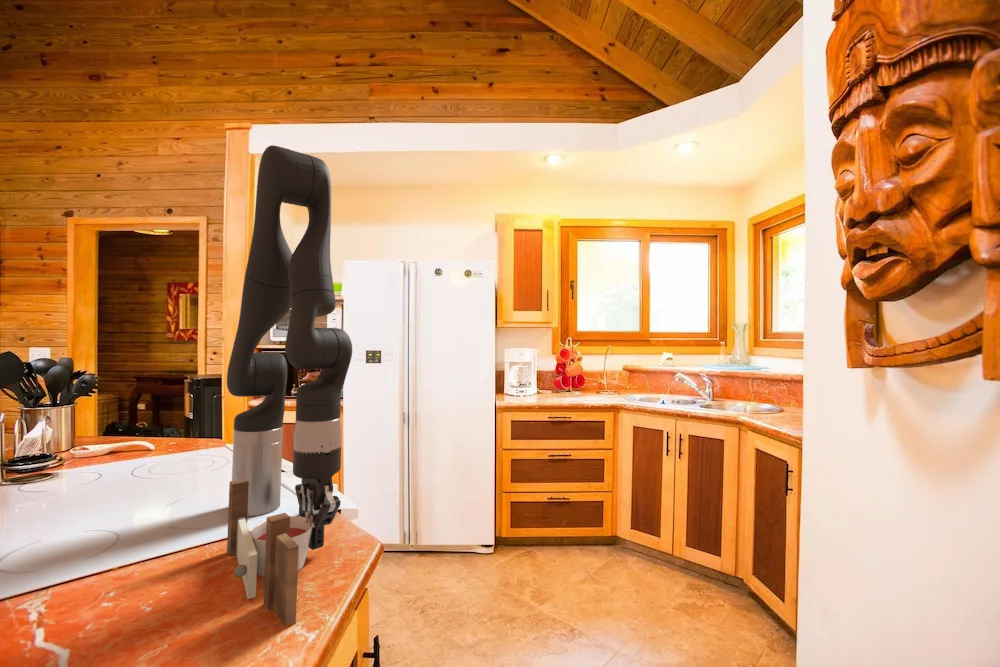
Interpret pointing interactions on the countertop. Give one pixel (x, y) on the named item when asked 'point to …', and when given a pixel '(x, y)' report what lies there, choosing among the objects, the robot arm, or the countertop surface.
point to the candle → (298, 534)
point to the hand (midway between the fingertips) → (315, 546)
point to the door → (246, 558)
